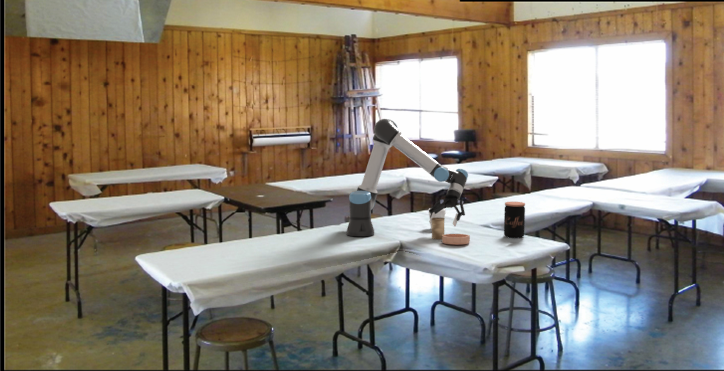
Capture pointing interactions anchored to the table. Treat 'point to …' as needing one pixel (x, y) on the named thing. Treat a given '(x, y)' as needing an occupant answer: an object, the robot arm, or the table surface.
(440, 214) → the foam cup
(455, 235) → the bowl
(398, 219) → the table surface
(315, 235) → the table surface
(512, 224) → the coffee jar
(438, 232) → the canister
